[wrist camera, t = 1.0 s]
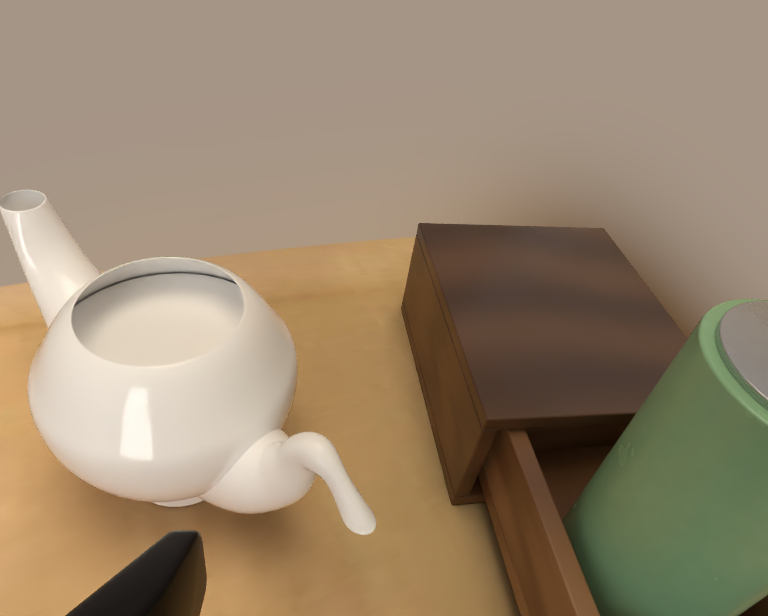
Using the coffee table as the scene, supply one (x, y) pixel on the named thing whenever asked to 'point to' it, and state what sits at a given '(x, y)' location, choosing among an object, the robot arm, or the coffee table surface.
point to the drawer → (547, 512)
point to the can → (686, 483)
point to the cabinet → (527, 336)
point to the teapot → (166, 379)
